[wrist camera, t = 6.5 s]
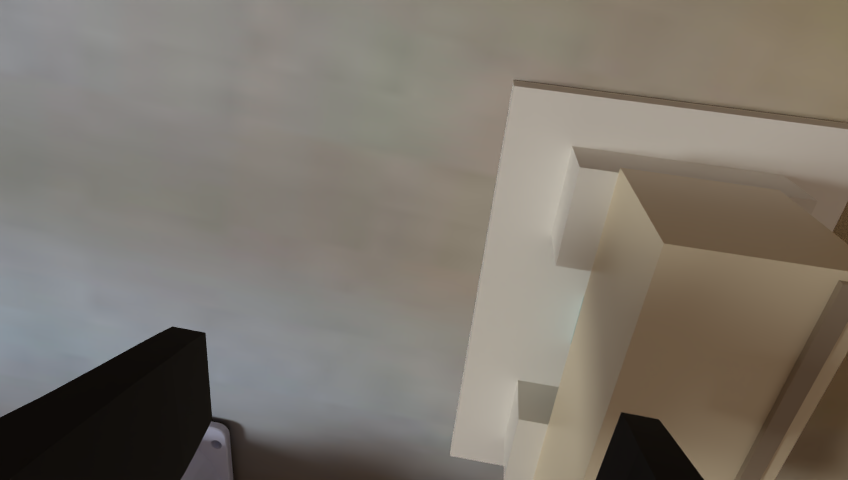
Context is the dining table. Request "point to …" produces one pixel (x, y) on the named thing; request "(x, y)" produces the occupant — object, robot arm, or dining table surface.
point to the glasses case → (702, 327)
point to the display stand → (598, 232)
